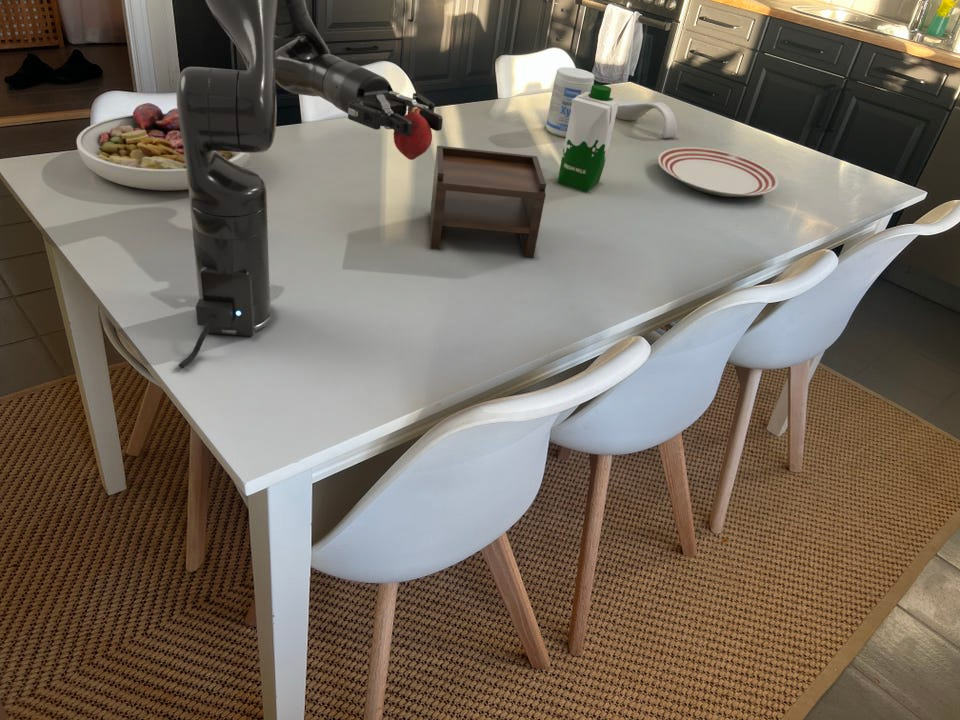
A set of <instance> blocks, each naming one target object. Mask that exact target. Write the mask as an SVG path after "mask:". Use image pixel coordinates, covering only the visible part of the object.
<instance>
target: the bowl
mask: <svg viewBox="0 0 960 720" xmlns="http://www.w3.org/2000/svg"><path fill="white" fill-rule="evenodd" d="M76 147H77V151H78V154H79V157H80V158H81V160H82V161H83V163H84V164H85V166H87V167H88V168H89V169H90V170H91V171H92V172H93V173H94V174H96V175H98V176H99V177H101V178H103V179H105V180H107V181H110V182H112V183H116V184H119V185H121V186H125V187H130V188H135V189H140V190H148V191H149V190H151V191H186V190H189V188H188V181H187V172H186V162H185V156H184V149H183V143H182V137H181V131H180V125H179V118H178V110H177V107H175V108H172V109H170V110H169V111H168V112H163V110H162V109H161V108H160V107H159V106H158V105H156V104H154V103H152V102H146V103H143V104H139V105H137V106H136V107H135V108H134V110H133V112H132V114H127V115H122V116H121V115H120V116H117V117H116V116H115V117H112V118H108V119H107V118H106V119H104V120H101V121H98V122H95V123H94V124H91V125H89V126H87V127H86V128H84V129H83V130H82V131H81V132H80V133H79V134H78V135H77V137H76ZM217 152H218V153H219V154H220V155H222V156H223V157H224V158H226V159H227V160H229V161H230V162H232V163H234V164H236V165H238V166H241V167H243V168H245V167H246V166H247V163H248V162H249V160H250V157H251V153H242V152H226V151H217Z"/></svg>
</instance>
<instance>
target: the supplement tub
mask: <svg viewBox="0 0 960 720" xmlns="http://www.w3.org/2000/svg"><path fill="white" fill-rule="evenodd" d="M594 83H595V74H594V73H592V72H590V71H588V70H585V69H582V68H576V67H569V66H562V67H558V68H557V70H556V74H555V76H554V81H553V87H552V92H551V98H550V102H549V108H548V113H547V118H546V122H545V123H546V124H545V128H546V130H547V131H548V133H551V134H553V135H555V136H559V137H562V138H563V137H564V138H566V134H567V129H568V123H569V119H570V113H571V106H572V99H574V98H576V96H578V95H580V94H582V93H584V92H589V93H591V88H592V85H595V84H594Z"/></svg>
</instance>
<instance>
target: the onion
mask: <svg viewBox="0 0 960 720" xmlns="http://www.w3.org/2000/svg"><path fill="white" fill-rule="evenodd" d="M419 112H420V109H419V108H417V107H414V108H413V109H412V110H411V112H410V113H409V114H408V113H406V115H405V116H404V118H406V119H408V120H410V121H411V122H412V133H411V135H410V136H404V135H403V134H401V133H399V132H397V131H395V130H393V143H394V146H395V148H396V149H397V150H398V152H399V153H401V154H402V155H403V156H404V157H405V158H406V159H407V160H409V161H414V160H415V159H417V158H418V157H420V156H422V155H423V154H424V153H426V152H427V151H428V149H429V148H430V147H431V145H432V142H433V141H432V140H433V132H432V129H431V128H430V125H429V123H428V122H427V120H426V119H425V118H424V117H423V116H421V115H420V113H419Z"/></svg>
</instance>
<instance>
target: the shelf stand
mask: <svg viewBox="0 0 960 720" xmlns="http://www.w3.org/2000/svg"><path fill="white" fill-rule="evenodd" d="M434 162H435V163H434V171H433V172H434V173H433V183H432V191H431V203H430V212H429V213H430V214H429V228H430V231H429V232H430V233H429V237H430V238H429V239H430V242H429V243H430V246H429V247H430V249H431V250H438V251H439V250H441V240H442V233H443V226H444V227H454V228H462V229H463V228H465V229H474V230H487V231H495V232H496V231H497V232H505V233H506V232H507V233H518V234H519V238H520V242H521V246H522V247H521V248H522V252H523V256H524V258H529V259H530V258H531V259H534V257H535V254H536V253H535V251H536V246H537V242H538V236H539V231H540V226H541V222H542V216H543V210H544V205H545V200H546V187H547V182H546V179H545V177H544V172H543V169H542V167H541V164H540V160H539V158H538V156H537V155H531V154H521V153H512V152H511V153H510V152H503V151H492V150H484V149H475V148H474V149H473V148H465V147H454V146H446V145H436V153H435V161H434Z"/></svg>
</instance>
